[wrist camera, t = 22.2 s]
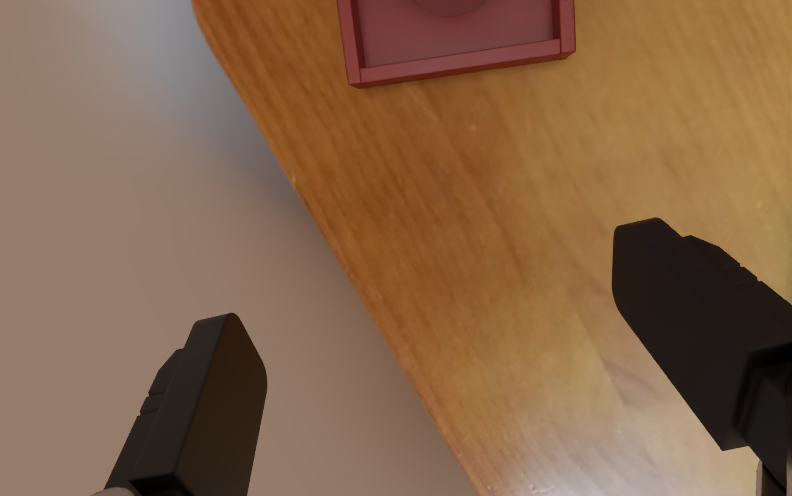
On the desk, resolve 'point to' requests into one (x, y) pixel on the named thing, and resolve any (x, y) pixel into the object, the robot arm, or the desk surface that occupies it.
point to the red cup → (448, 6)
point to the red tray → (450, 38)
